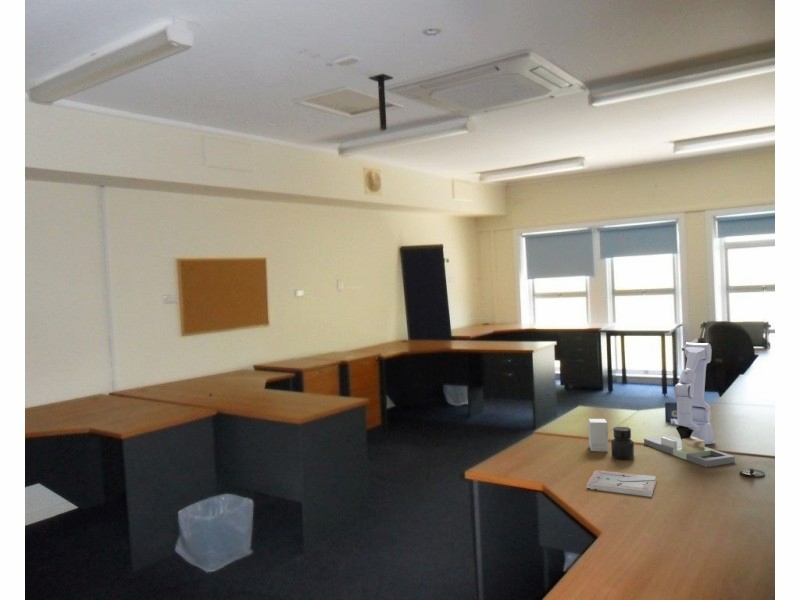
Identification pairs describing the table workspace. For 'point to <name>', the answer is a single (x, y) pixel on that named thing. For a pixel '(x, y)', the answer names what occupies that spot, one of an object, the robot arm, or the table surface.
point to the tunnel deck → (700, 457)
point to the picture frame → (622, 483)
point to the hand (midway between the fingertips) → (685, 444)
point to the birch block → (693, 444)
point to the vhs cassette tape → (671, 411)
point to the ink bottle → (622, 444)
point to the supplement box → (598, 434)
